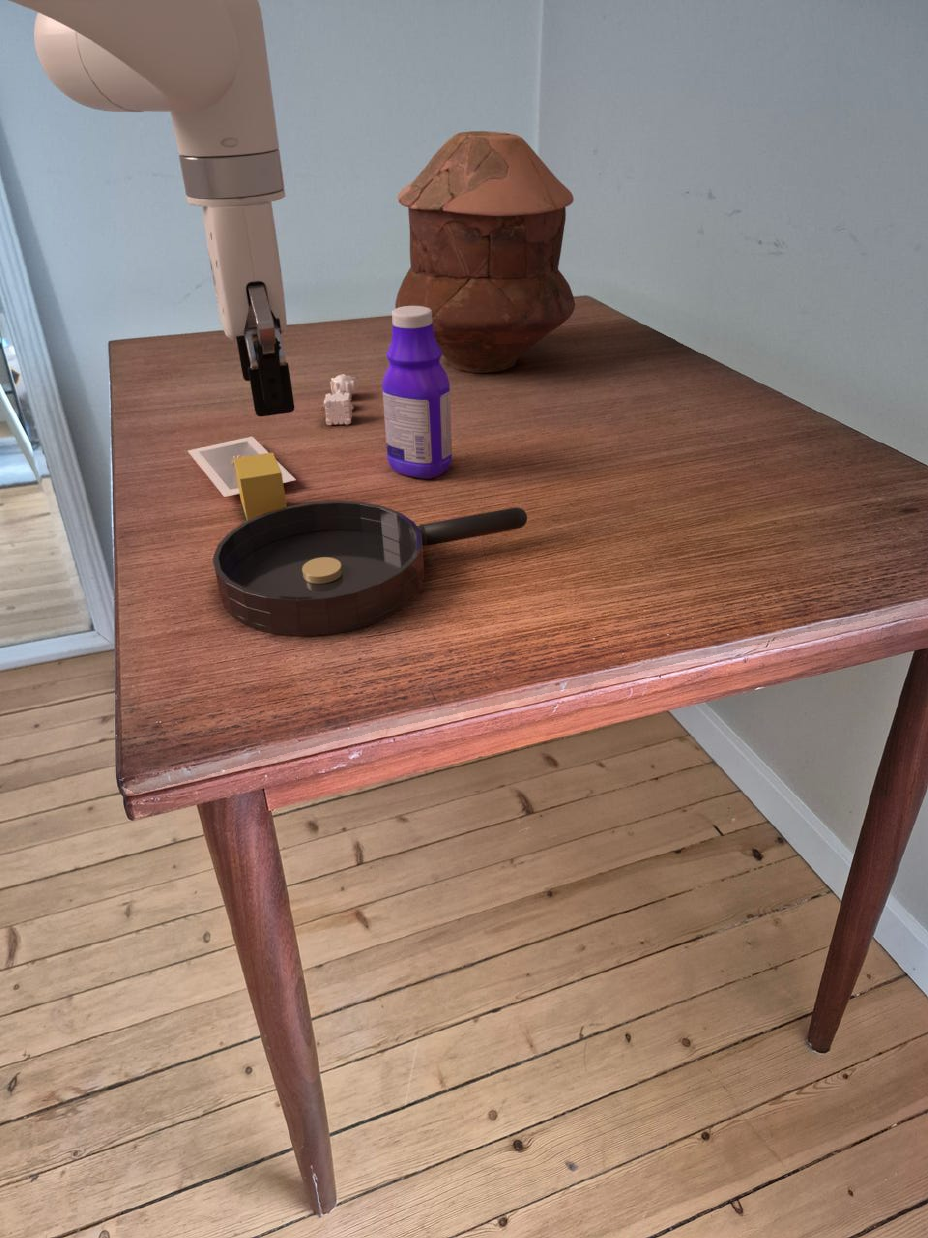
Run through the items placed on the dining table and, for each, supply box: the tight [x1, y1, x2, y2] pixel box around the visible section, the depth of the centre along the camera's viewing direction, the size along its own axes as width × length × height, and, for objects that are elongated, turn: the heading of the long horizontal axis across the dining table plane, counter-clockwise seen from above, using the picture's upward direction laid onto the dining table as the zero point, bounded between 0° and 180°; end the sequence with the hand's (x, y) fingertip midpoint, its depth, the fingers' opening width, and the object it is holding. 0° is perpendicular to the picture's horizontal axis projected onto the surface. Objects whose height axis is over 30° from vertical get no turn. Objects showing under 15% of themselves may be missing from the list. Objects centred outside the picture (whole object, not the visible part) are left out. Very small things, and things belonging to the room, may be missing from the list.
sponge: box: [233, 452, 288, 522], centre depth 90 cm, size 4×6×6 cm
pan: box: [212, 500, 425, 637], centre depth 79 cm, size 18×18×4 cm
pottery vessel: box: [394, 130, 576, 374], centre depth 124 cm, size 26×26×30 cm
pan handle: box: [416, 506, 528, 547], centre depth 82 cm, size 11×2×2 cm, turn 109°
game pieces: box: [323, 373, 357, 426], centre depth 116 cm, size 12×3×3 cm, turn 2°
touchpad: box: [187, 436, 297, 498], centre depth 100 cm, size 8×15×2 cm, turn 29°
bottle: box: [381, 306, 453, 480], centre depth 95 cm, size 7×6×17 cm
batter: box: [302, 557, 342, 584], centre depth 80 cm, size 4×4×1 cm
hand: (268, 394), depth 78 cm, fingers open, 9 cm apart
